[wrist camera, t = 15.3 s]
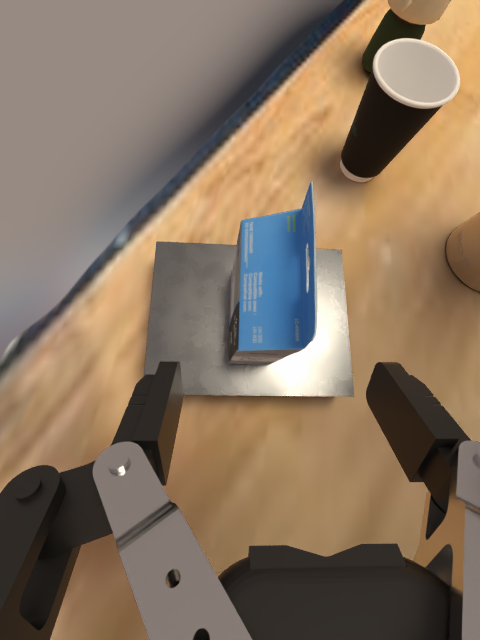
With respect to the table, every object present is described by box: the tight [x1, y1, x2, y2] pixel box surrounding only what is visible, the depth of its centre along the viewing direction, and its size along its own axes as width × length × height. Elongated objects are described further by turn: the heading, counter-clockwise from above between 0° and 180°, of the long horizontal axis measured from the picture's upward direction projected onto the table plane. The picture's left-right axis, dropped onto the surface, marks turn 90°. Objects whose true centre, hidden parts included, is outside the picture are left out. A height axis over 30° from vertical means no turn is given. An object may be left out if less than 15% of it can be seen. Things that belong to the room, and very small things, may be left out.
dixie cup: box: [340, 38, 460, 182], centre depth 30 cm, size 8×8×11 cm
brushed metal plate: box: [144, 242, 354, 397], centre depth 27 cm, size 18×14×4 cm
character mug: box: [362, 0, 451, 73], centre depth 34 cm, size 11×7×13 cm, turn 141°
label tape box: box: [228, 181, 318, 365], centre depth 19 cm, size 9×4×12 cm, turn 178°
